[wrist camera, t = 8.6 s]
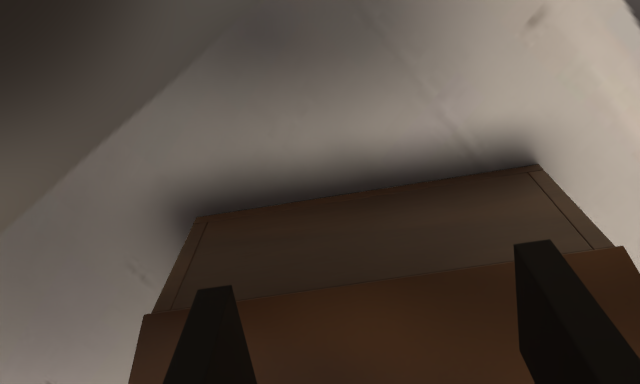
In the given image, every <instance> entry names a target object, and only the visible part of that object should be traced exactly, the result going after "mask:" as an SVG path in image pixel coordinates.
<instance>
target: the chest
mask: <svg viewBox="0 0 640 384" xmlns="http://www.w3.org/2000/svg"><path fill="white" fill-rule="evenodd" d="M547 239H550V240H551V241H552V242H553V244H554V245H555V246H556V248H557V249H558V250H559V252H560V253H561V254H568V253H575V252H582V251H589V250H596V249H603V248H610V247H615V246H614V245H613V244H612V242H611V241H610V240H609V239H608V238H607V237H606V236H605V235H604V234H603V233H602V232H601V231H600V230H599V229H598V227H597V226H596V225H595V224H594V223H593V222H592V221H591V220H590V219H589V218H588V217H587V216H586V215H585V214H584V213H583V211H582V210H581V209H580V208H579V207H578V206H577V205H576V204H575V203H574V202H573V201H572V200H571V199H570V198H569V196H568V195H567V194H566V193H565V192H564V191H563V190H562V189H561V188H560V187H559V186H558V185H557V184H556V183H555V182H554V180H553V179H552V178H551V177H550V176H549V175H548V174H547V173H546V172H545V171H544V170H543V168H542V167H541V166H540V165H539V164H537V165H531V166H524V167H518V168H511V169H505V170H499V171H492V172H486V173H479V174H473V175H466V176H460V177H454V178H447V179H441V180H434V181H428V182H421V183H415V184H408V185H402V186H396V187H389V188H383V189H376V190H370V191H363V192H357V193H351V194H344V195H338V196H331V197H325V198H318V199H312V200H306V201H299V202H293V203H286V204H280V205H273V206H267V207H260V208H254V209H248V210H241V211H235V212H228V213H222V214H215V215H209V216H203V217H196V219H195V221H194V223H193V226H192V228H191V230H190V232H189V234H188V236H187V239H186V241H185V243H184V245H183V247H182V249H181V251H180V253H179V255H178V258H177V260H176V262H175V264H174V266H173V268H172V270H171V272H170V275H169V277H168V279H167V281H166V283H165V285H164V287H163V289H162V291H161V294H160V296H159V298H158V300H157V302H156V304H155V306H154V308H153V310H152V313H158V312H165V311H172V310H179V309H186V308H191V306H192V303H193V301H194V298H195V295H196V293H197V290H198V289H205V288H212V287H219V286H226V285H232V289H233V293H234V296H235V300H236V301H241V300H248V299H255V298H262V297H269V296H276V295H283V294H290V293H297V292H304V291H311V290H318V289H325V288H332V287H339V286H346V285H353V284H360V283H367V282H374V281H380V280H387V279H394V278H401V277H408V276H415V275H422V274H429V273H436V272H443V271H450V270H457V269H464V268H471V267H478V266H485V265H492V264H499V263H506V262H513V261H514V245H513V244H519V243H526V242H533V241H540V240H547Z"/></svg>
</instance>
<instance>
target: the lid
mask: <svg viewBox="0 0 640 384" xmlns="http://www.w3.org/2000/svg"><path fill="white" fill-rule="evenodd" d="M562 256H563V257H564V258H565V260H566V261H567V262H568V264H569V265H570V266H571V268H572V269H573V270H574V272H575V273H576V274H577V276H578V277H579V278H580V280H581V281H582V282H583V284H584V285H585V286H586V288H587V289H588V290H589V292H590V293H591V294H592V296H593V297H594V298H595V300H596V301H597V302H598V304H599V305H600V306H601V308H602V309H603V310H604V312H605V313H606V314H607V316H608V317H609V318H610V320H611V321H612V322H613V324H614V325H615V326H616V328H617V329H618V330H619V332H620V333H621V334H622V336H623V337H624V338H625V340H626V341H627V342H628V344H629V345H630V346H631V348H632V349H633V350H634V352H635V353H636V354H637V356H638V357H639V358H640V273H639V272H638V270H637V268H636V267H635V265H634V263H633V261H632V260H631V258H630V256H629V255H628V253H627V251H626V250H625V248H624V247H623V246H617V247H610V248H603V249H596V250H589V251H582V252H575V253H568V254H562ZM236 304H237V308H238V312H239V316H240V319H241V323H242V327H243V331H244V335H245V339H246V343H247V346H248V350H249V354H250V358H251V362H252V366H253V369H254V373H255V377H256V381H257V384H535V382H534V380H533V378H532V376H531V374H530V372H529V370H528V367H527V365H526V363H525V361H524V359H523V357H522V355H521V353H520V350H519V334H518V316H517V299H516V281H515V263H514V261H513V262H506V263H499V264H492V265H485V266H478V267H471V268H464V269H457V270H450V271H443V272H436V273H429V274H422V275H415V276H408V277H401V278H394V279H387V280H380V281H374V282H367V283H360V284H353V285H346V286H339V287H332V288H325V289H318V290H311V291H304V292H297V293H290V294H283V295H276V296H269V297H262V298H255V299H248V300H241V301H236ZM190 309H191V308H186V309H179V310H172V311H165V312H158V313H151V314H145V315H144V316H143V320H142V325H141V329H140V334H139V338H138V343H137V347H136V352H135V356H134V360H133V365H132V369H131V374H130V378H129V383H128V384H163V381H164V378H165V376H166V373H167V370H168V368H169V365H170V362H171V359H172V357H173V354H174V351H175V349H176V346H177V343H178V341H179V338H180V335H181V333H182V330H183V327H184V325H185V322H186V319H187V317H188V314H189V311H190Z"/></svg>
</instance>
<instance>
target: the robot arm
mask: <svg viewBox="0 0 640 384" xmlns="http://www.w3.org/2000/svg"><path fill="white" fill-rule="evenodd" d="M513 245H514V263H515V281H516V299H517V316H518V334H519V350H520V353H521V355H522V357H523V359H524V361H525V363H526V365H527V367H528V370H529V372H530V374H531V376H532V378H533V380H534V382H535V384H640V358H639V357H638V356H637V354H636V353H635V352H634V350H633V349H632V348H631V346H630V345H629V344H628V342H627V341H626V340H625V338H624V337H623V336H622V334H621V333H620V332H619V330H618V329H617V328H616V326H615V325H614V324H613V322H612V321H611V320H610V318H609V317H608V316H607V314H606V313H605V312H604V310H603V309H602V308H601V306H600V305H599V304H598V302H597V301H596V300H595V298H594V297H593V296H592V294H591V293H590V292H589V290H588V289H587V288H586V286H585V285H584V284H583V282H582V281H581V280H580V278H579V277H578V276H577V274H576V273H575V272H574V270H573V269H572V268H571V266H570V265H569V264H568V262H567V261H566V260H565V258H564V257H563V256H562V254H561V253H560V252H559V250H558V249H557V248H556V246H555V245H554V244H553V242H552V241H551V240H550V239H547V240H540V241H533V242H526V243H519V244H513ZM163 384H257V381H256V377H255V373H254V369H253V366H252V362H251V358H250V354H249V350H248V346H247V343H246V339H245V335H244V331H243V327H242V323H241V319H240V316H239V312H238V308H237V304H236V300H235V296H234V293H233V289H232V285H226V286H219V287H212V288H205V289H198V290H197V293H196V295H195V298H194V301H193V303H192V306H191V309H190V311H189V314H188V317H187V319H186V322H185V325H184V327H183V330H182V333H181V335H180V338H179V341H178V343H177V346H176V349H175V351H174V354H173V357H172V359H171V362H170V365H169V368H168V370H167V373H166V376H165V378H164V381H163Z"/></svg>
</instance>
